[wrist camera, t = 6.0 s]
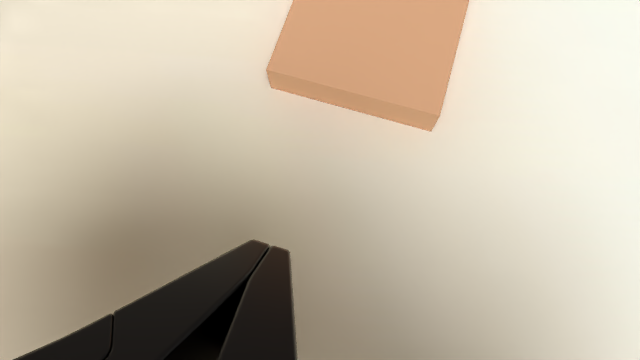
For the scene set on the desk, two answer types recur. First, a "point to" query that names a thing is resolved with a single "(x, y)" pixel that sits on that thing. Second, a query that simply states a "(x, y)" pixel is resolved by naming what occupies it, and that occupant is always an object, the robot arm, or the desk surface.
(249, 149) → the desk surface
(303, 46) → the glazed tile
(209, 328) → the robot arm
